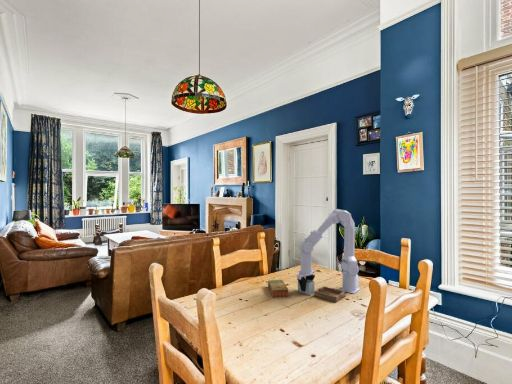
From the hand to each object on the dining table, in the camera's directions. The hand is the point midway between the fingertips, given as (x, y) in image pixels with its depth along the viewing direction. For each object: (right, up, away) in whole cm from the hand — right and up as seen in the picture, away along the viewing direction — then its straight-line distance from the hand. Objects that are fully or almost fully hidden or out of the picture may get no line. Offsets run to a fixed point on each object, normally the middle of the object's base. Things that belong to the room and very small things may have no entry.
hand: (306, 289), depth 144 cm
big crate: (+11, -1, -6) cm, 12 cm away
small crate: (0, -1, 0) cm, 1 cm away
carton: (-15, -2, +1) cm, 15 cm away
